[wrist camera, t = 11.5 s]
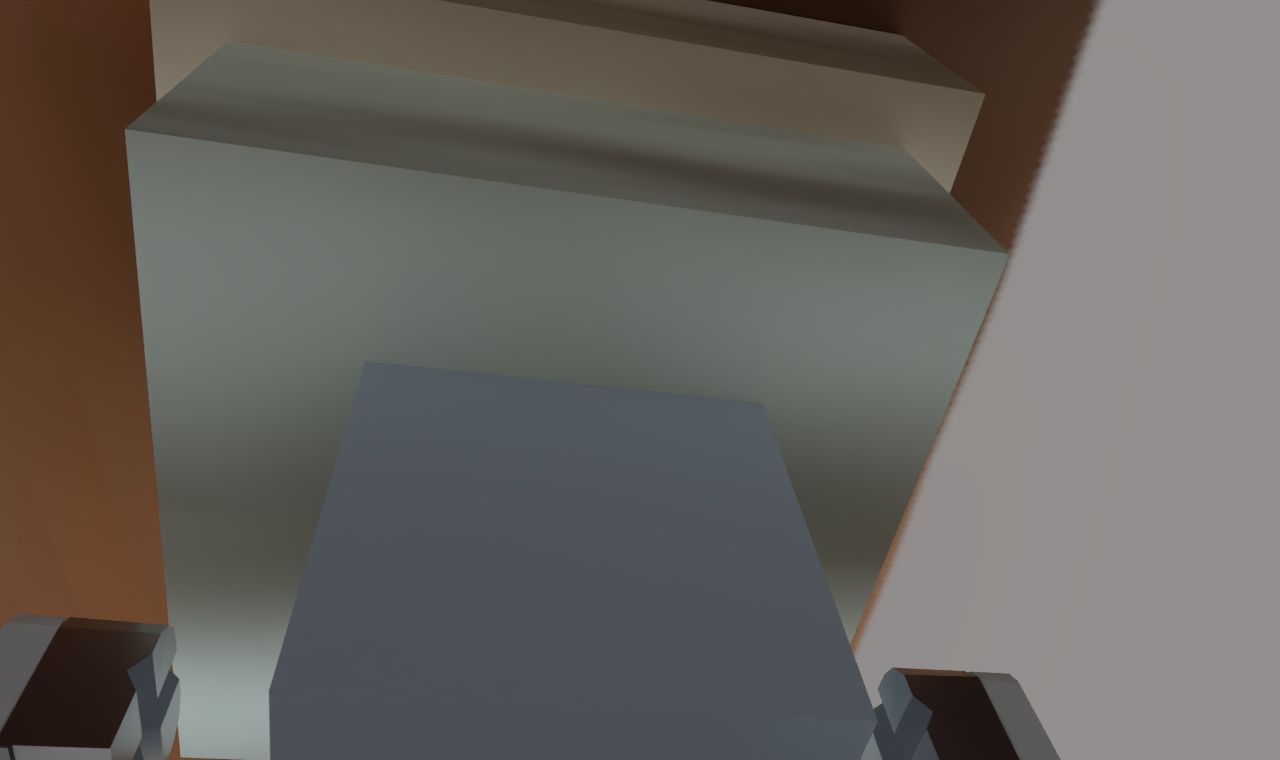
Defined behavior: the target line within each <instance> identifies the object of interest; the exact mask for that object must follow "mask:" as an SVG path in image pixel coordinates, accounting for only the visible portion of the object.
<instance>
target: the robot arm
mask: <svg viewBox="0 0 1280 760" xmlns="http://www.w3.org/2000/svg"><path fill="white" fill-rule="evenodd" d="M176 651H177V646H176V638H175V630H174V628H173V627H171V626H169V625H159V624H147V623H135V622H123V621H111V620H99V619H87V618H75V617H70V618H67V617H54V616H42V615H29V614H17V615H16V616H14V617H13V618H12V619H11V620H10V621H8V622H7V623H6V624H5V625H4V626H3V627H2V629H1V630H0V760H167V759H168V756H169V754H170V751H171V748H172V745H173V742H174V737H175V733H176V728H177V723H178V719H179V712H180V697H181V693H180V679H179V678H178V677H177V676H176V675H175V674H174V673H173V672H172V671H170V670H169V669H170V666H171V664H172V661H173V659H174V656H175V654H176ZM878 691H879V694H880V696H881V699H882V702H883V703H882V704H880V705H879V706H878V707H876V708H875V709H873V710H874V712H875V715H876V718H877V721H878V722H877V724H876V727H875V729H874V731H873V733H872V735H871V738H870V740H869V742H868V744H867V746H866V749H865V751H864V753H863V755H862V757H861V759H860V760H1060V758H1059V756H1058V754H1057V753H1056V750H1055V748H1054V747H1053V745H1052V743H1051V741H1050V739H1049V737H1048V736H1047V734H1046V732H1045V730H1044V728H1043V726H1042V724H1041V723H1040V721H1039V719H1038V717H1037V715H1036V713H1035V712H1034V710H1033V708H1032V706H1031V704H1030V702H1029V701H1028V699H1027V697H1026V695H1025V693H1024V691H1023V689H1022V688H1021V686H1020V684H1019V683H1018V681H1017V680H1016V679H1015V678H1013V677H1012V676H1011V675H1010V674H1004V673H985V672H966V671H952V670H931V669H930V670H929V669H909V668H892V669H891V670H889V671H888V672H887V673H886V674H885V675H884V677H883V679H882V681H881V683H880V685H879V687H878Z"/></svg>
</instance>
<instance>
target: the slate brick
mask: <svg viewBox="0 0 1280 760" xmlns="http://www.w3.org/2000/svg"><path fill="white" fill-rule="evenodd" d="M877 722H878V721H877V718H876V715H875V712H874V710H873V707H872V704H871V701H870V699H869V696H868V693H867V691H866V688H865V685H864V682H863V679H862V677H861V674H860V671H859V669H858V665H857V663H856V660H855V657H854V654H853V652H852V649H851V646H850V643H849V641H848V638H847V635H846V632H845V630H844V627H843V624H842V621H841V619H840V616H839V613H838V610H837V608H836V605H835V602H834V599H833V597H832V594H831V591H830V588H829V586H828V583H827V580H826V577H825V575H824V572H823V569H822V566H821V563H820V561H819V558H818V555H817V552H816V550H815V547H814V544H813V541H812V539H811V536H810V533H809V530H808V528H807V525H806V522H805V519H804V517H803V514H802V511H801V508H800V506H799V503H798V500H797V497H796V495H795V492H794V489H793V486H792V484H791V481H790V478H789V475H788V472H787V470H786V467H785V464H784V461H783V459H782V456H781V453H780V450H779V448H778V445H777V442H776V439H775V437H774V434H773V431H772V428H771V426H770V423H769V420H768V417H767V415H766V412H765V409H764V406H763V404H761V403H752V402H742V401H733V400H724V399H714V398H705V397H696V396H686V395H677V394H668V393H658V392H649V391H640V390H630V389H621V388H612V387H602V386H593V385H584V384H575V383H565V382H556V381H547V380H537V379H528V378H519V377H509V376H500V375H491V374H481V373H472V372H463V371H453V370H444V369H435V368H425V367H416V366H407V365H397V364H388V363H379V362H370V361H365V364H364V368H363V371H362V374H361V378H360V381H359V385H358V388H357V392H356V395H355V398H354V402H353V405H352V409H351V412H350V415H349V419H348V422H347V426H346V429H345V433H344V436H343V439H342V443H341V446H340V450H339V453H338V457H337V460H336V463H335V467H334V470H333V474H332V477H331V480H330V484H329V487H328V491H327V494H326V498H325V501H324V504H323V508H322V511H321V515H320V518H319V522H318V525H317V528H316V532H315V535H314V539H313V542H312V545H311V549H310V552H309V556H308V559H307V563H306V566H305V569H304V573H303V576H302V580H301V583H300V587H299V590H298V593H297V597H296V600H295V604H294V607H293V610H292V614H291V617H290V621H289V624H288V628H287V631H286V634H285V638H284V641H283V645H282V648H281V652H280V655H279V658H278V662H277V665H276V669H275V672H274V675H273V679H272V682H271V686H270V689H269V725H270V760H860V759H861V757H862V755H863V753H864V751H865V749H866V746H867V744H868V742H869V740H870V738H871V735H872V733H873V731H874V729H875V727H876V724H877Z"/></svg>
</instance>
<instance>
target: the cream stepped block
mask: <svg viewBox="0 0 1280 760" xmlns="http://www.w3.org/2000/svg"><path fill="white" fill-rule="evenodd" d="M149 2H150V16H151V30H152V44H153V58H154V72H155V86H156V100H157V102H156V103H155V104H154V105H152V106H151V107H150V108H149V109H148V110H146V111H145V112H144V113H143V114H142V115H141V116H139V117H138V118H137V119H136V120H135V121H134V122H132V123H131V124H130V125H129V126H128V127H127V128H125V138H126V149H127V160H128V172H129V183H130V194H131V205H132V216H133V227H134V239H135V250H136V261H137V272H138V283H139V295H140V306H141V317H142V328H143V339H144V351H145V362H146V373H147V384H148V395H149V406H150V418H151V429H152V440H153V451H154V462H155V474H156V485H157V496H158V507H159V518H160V530H161V541H162V552H163V563H164V574H165V585H166V597H167V608H168V619H169V626H171V627H173V628H174V630H175V638H176V646H177V651H176V654H175V656H174V659H173V661H172V664H173V673H174V674H175V675H176V676H177V677H178V678H179V679H180V693H181V697H180V712H179V719H178V731H179V742H180V753H181V757H190V758H216V759H242V760H270V725H269V689H270V686H271V682H272V679H273V675H274V672H275V669H276V665H277V662H278V658H279V655H280V652H281V648H282V645H283V641H284V638H285V634H286V631H287V628H288V624H289V621H290V617H291V614H292V610H293V607H294V604H295V600H296V597H297V593H298V590H299V587H300V583H301V580H302V576H303V573H304V569H305V566H306V563H307V559H308V556H309V552H310V549H311V545H312V542H313V539H314V535H315V532H316V528H317V525H318V522H319V518H320V515H321V511H322V508H323V504H324V501H325V498H326V494H327V491H328V487H329V484H330V480H331V477H332V474H333V470H334V467H335V463H336V460H337V457H338V453H339V450H340V446H341V443H342V439H343V436H344V433H345V429H346V426H347V422H348V419H349V415H350V412H351V409H352V405H353V402H354V398H355V395H356V392H357V388H358V385H359V381H360V378H361V374H362V371H363V368H364V364H365V361H370V362H379V363H388V364H397V365H407V366H416V367H425V368H435V369H444V370H453V371H463V372H472V373H481V374H491V375H500V376H509V377H519V378H528V379H537V380H547V381H556V382H565V383H575V384H584V385H593V386H602V387H612V388H621V389H630V390H640V391H649V392H658V393H668V394H677V395H686V396H696V397H705V398H714V399H724V400H733V401H742V402H752V403H761V404H763V406H764V409H765V412H766V415H767V417H768V420H769V423H770V426H771V428H772V431H773V434H774V437H775V439H776V442H777V445H778V448H779V450H780V453H781V456H782V459H783V461H784V464H785V467H786V470H787V472H788V475H789V478H790V481H791V484H792V486H793V489H794V492H795V495H796V497H797V500H798V503H799V506H800V508H801V511H802V514H803V517H804V519H805V522H806V525H807V528H808V530H809V533H810V536H811V539H812V541H813V544H814V547H815V550H816V552H817V555H818V558H819V561H820V563H821V566H822V569H823V572H824V575H825V577H826V580H827V583H828V586H829V588H830V591H831V594H832V597H833V599H834V602H835V605H836V608H837V610H838V613H839V616H840V619H841V621H842V624H843V627H844V630H845V632H846V635H847V638H848V641H849V643H851V641H852V638H853V636H854V633H855V631H856V629H857V626H858V624H859V621H860V619H861V616H862V614H863V611H864V609H865V607H866V604H867V602H868V599H869V597H870V594H871V592H872V590H873V587H874V585H875V582H876V580H877V577H878V575H879V572H880V570H881V568H882V565H883V563H884V560H885V558H886V555H887V553H888V550H889V548H890V546H891V543H892V541H893V538H894V536H895V533H896V531H897V529H898V526H899V524H900V521H901V519H902V516H903V514H904V511H905V509H906V507H907V504H908V502H909V499H910V497H911V494H912V492H913V489H914V487H915V485H916V482H917V480H918V477H919V475H920V472H921V470H922V467H923V465H924V463H925V460H926V458H927V455H928V453H929V450H930V448H931V446H932V443H933V441H934V438H935V436H936V433H937V431H938V428H939V426H940V424H941V421H942V419H943V416H944V414H945V411H946V409H947V406H948V404H949V402H950V399H951V397H952V394H953V392H954V389H955V387H956V385H957V382H958V380H959V377H960V375H961V372H962V370H963V367H964V365H965V363H966V360H967V358H968V355H969V353H970V350H971V348H972V345H973V343H974V341H975V338H976V336H977V333H978V331H979V328H980V326H981V324H982V321H983V319H984V316H985V314H986V311H987V309H988V306H989V304H990V302H991V299H992V297H993V294H994V292H995V289H996V287H997V284H998V282H999V280H1000V277H1001V275H1002V272H1003V270H1004V267H1005V265H1006V262H1007V260H1008V258H1009V255H1010V254H1009V253H1008V252H1007V251H1006V250H1005V249H1004V248H1003V247H1002V246H1001V245H1000V244H999V243H998V242H997V241H996V240H995V239H994V238H993V237H992V236H991V235H990V234H989V233H988V232H987V231H986V230H985V229H984V228H983V227H982V226H981V225H980V224H979V223H978V222H977V221H976V220H975V219H974V218H973V217H972V216H971V215H970V214H969V213H968V212H967V211H966V210H965V209H964V208H963V207H962V206H961V205H960V204H959V203H958V202H957V201H956V200H955V199H954V198H953V197H952V196H951V195H950V191H951V189H952V186H953V183H954V180H955V177H956V175H957V172H958V169H959V166H960V164H961V161H962V158H963V155H964V153H965V150H966V147H967V144H968V142H969V139H970V136H971V133H972V131H973V128H974V125H975V122H976V120H977V117H978V114H979V111H980V109H981V106H982V103H983V100H984V98H985V95H986V94H985V93H984V92H982V91H981V90H979V89H978V88H976V87H975V86H974V85H972V84H971V83H969V82H968V81H966V80H965V79H964V78H962V77H961V76H959V75H958V74H956V73H955V72H954V71H952V70H951V69H949V68H948V67H946V66H945V65H944V64H942V63H941V62H939V61H938V60H936V59H935V58H934V57H932V56H931V55H929V54H928V53H927V52H925V51H924V50H922V49H921V48H919V47H918V46H917V45H915V44H914V43H912V42H911V41H909V40H908V39H907V38H905V37H904V36H902V35H898V34H892V33H887V32H881V31H876V30H870V29H864V28H859V27H853V26H848V25H842V24H837V23H831V22H826V21H820V20H814V19H809V18H803V17H798V16H792V15H787V14H781V13H776V12H770V11H764V10H759V9H753V8H748V7H742V6H737V5H731V4H726V3H720V2H714V1H709V0H149Z"/></svg>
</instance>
